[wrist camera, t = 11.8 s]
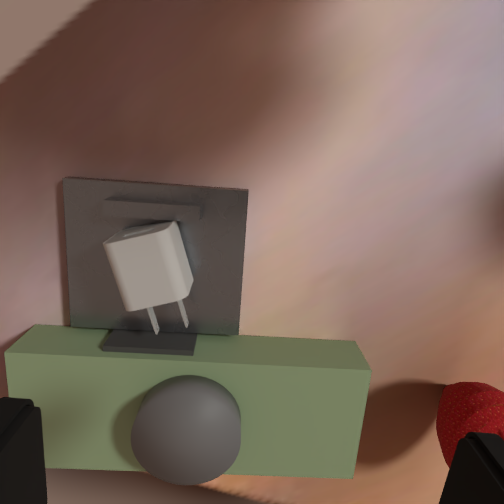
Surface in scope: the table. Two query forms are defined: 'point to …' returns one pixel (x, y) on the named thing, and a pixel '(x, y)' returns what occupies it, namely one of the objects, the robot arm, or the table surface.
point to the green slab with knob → (192, 402)
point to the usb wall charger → (150, 267)
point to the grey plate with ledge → (193, 237)
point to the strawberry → (468, 414)
